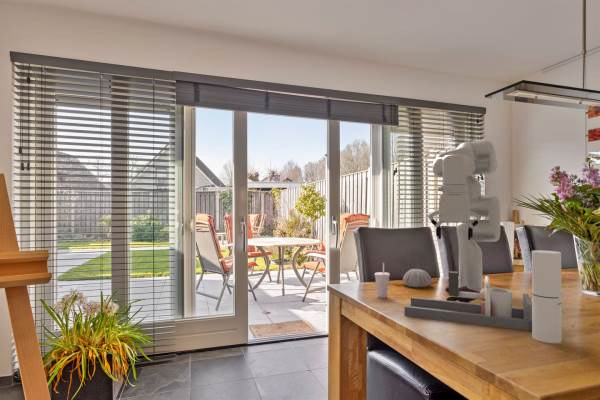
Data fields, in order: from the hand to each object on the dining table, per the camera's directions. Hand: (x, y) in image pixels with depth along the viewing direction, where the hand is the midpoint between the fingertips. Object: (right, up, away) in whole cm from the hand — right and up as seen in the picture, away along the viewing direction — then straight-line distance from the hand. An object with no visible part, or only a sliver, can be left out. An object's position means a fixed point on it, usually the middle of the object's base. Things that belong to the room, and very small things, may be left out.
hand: (454, 239), depth 132 cm
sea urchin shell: (+1, -27, +46) cm, 53 cm away
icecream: (+11, -27, +15) cm, 32 cm away
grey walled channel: (+4, -26, -3) cm, 27 cm away
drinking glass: (+13, -27, -7) cm, 30 cm away
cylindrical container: (+17, -27, -24) cm, 39 cm away
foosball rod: (+4, -26, -3) cm, 26 cm away
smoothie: (-20, -27, +25) cm, 42 cm away
